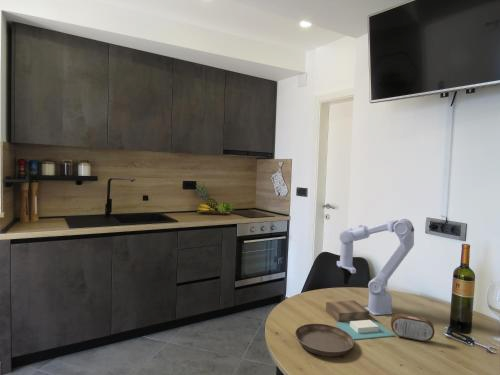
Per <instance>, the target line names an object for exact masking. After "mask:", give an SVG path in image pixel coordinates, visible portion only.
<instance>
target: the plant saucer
mask: <svg viewBox="0 0 500 375" xmlns="http://www.w3.org/2000/svg"><path fill="white" fill-rule="evenodd" d="M294 336H295V337H296V340H297V341H298V343H299V344H300V345H301V346H302V347H303V348H304V349H305V350H306V351H308V352H310V353H313V354H315V355H319V356H323V357H340V356H341V355H344V354H346V353H347V352H349V351H350V350H351V349H352V348H353V346H354V345H355V340H353V338H352V337H351V336H350V335H349V334H348V333H347V332H345V331H344V330H342V329H340V328H339V327H338V326H337V327H336V326H334V325H329V324H324V323H306V324H302V325H300V326H299V327H297V328H296V330H295V332H294Z"/></svg>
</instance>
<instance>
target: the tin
mask: <svg viewBox="0 0 500 375" xmlns="http://www.w3.org/2000/svg"><path fill="white" fill-rule="evenodd" d="M390 327H391V331H392V332H393V334H394V335H396V336H399V337H400V338H405V339H410V340H414V341H418V342H424V343H425V342H429V341H430V340H432V339H433V338H434V336H435V328H434V325H433V323H432V322H431V321H430V320H429V319H427V318H425V317H421V316H420V317H419V316H414V315H410V314H405V313H397V314H395V315H393V316H392V317H391V320H390Z"/></svg>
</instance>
